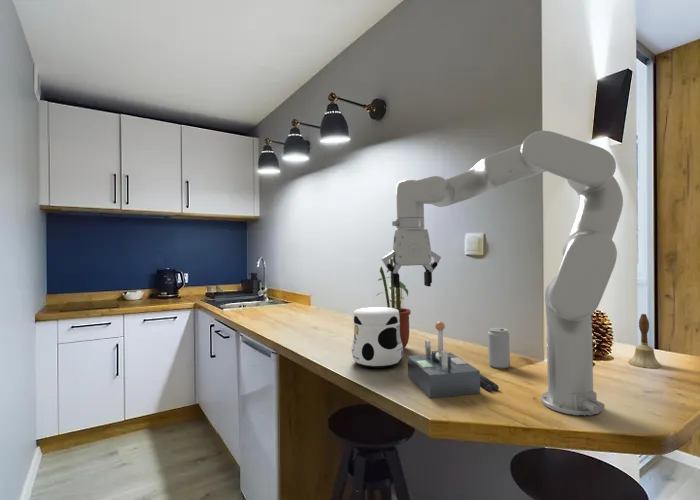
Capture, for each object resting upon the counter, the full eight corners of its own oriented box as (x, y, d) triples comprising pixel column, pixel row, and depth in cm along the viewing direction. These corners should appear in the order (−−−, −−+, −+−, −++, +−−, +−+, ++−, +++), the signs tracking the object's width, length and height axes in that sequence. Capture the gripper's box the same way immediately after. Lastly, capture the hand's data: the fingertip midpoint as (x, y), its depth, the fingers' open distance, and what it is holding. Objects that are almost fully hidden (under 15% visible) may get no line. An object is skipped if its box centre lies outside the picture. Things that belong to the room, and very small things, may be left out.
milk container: (344, 360, 135) (343, 309, 135) (389, 353, 141) (387, 305, 141) (364, 375, 119) (362, 317, 118) (413, 367, 125) (411, 312, 125)
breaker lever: (448, 362, 108) (447, 322, 107) (439, 363, 107) (438, 323, 107) (442, 358, 111) (441, 320, 111) (433, 359, 111) (432, 320, 111)
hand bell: (667, 369, 116) (666, 316, 116) (636, 368, 118) (635, 316, 118) (652, 361, 124) (651, 311, 124) (623, 360, 126) (622, 311, 126)
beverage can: (512, 369, 120) (511, 331, 119) (490, 369, 121) (489, 331, 121) (507, 363, 126) (506, 327, 126) (487, 362, 127) (486, 326, 127)
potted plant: (411, 354, 139) (409, 258, 139) (369, 353, 142) (366, 259, 141) (411, 342, 157) (409, 256, 156) (373, 341, 159) (371, 257, 159)
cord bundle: (499, 390, 103) (499, 385, 103) (488, 392, 102) (488, 386, 102) (468, 370, 120) (468, 365, 120) (458, 371, 120) (458, 366, 120)
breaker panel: (480, 393, 102) (479, 351, 102) (430, 398, 99) (429, 356, 99) (451, 371, 119) (450, 336, 119) (407, 375, 117) (406, 339, 117)
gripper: (384, 224, 102) (385, 289, 103) (445, 223, 105) (446, 286, 106) (377, 226, 110) (379, 286, 110) (434, 225, 113) (436, 284, 113)
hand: (412, 286), depth 108 cm, fingers open, 8 cm apart
